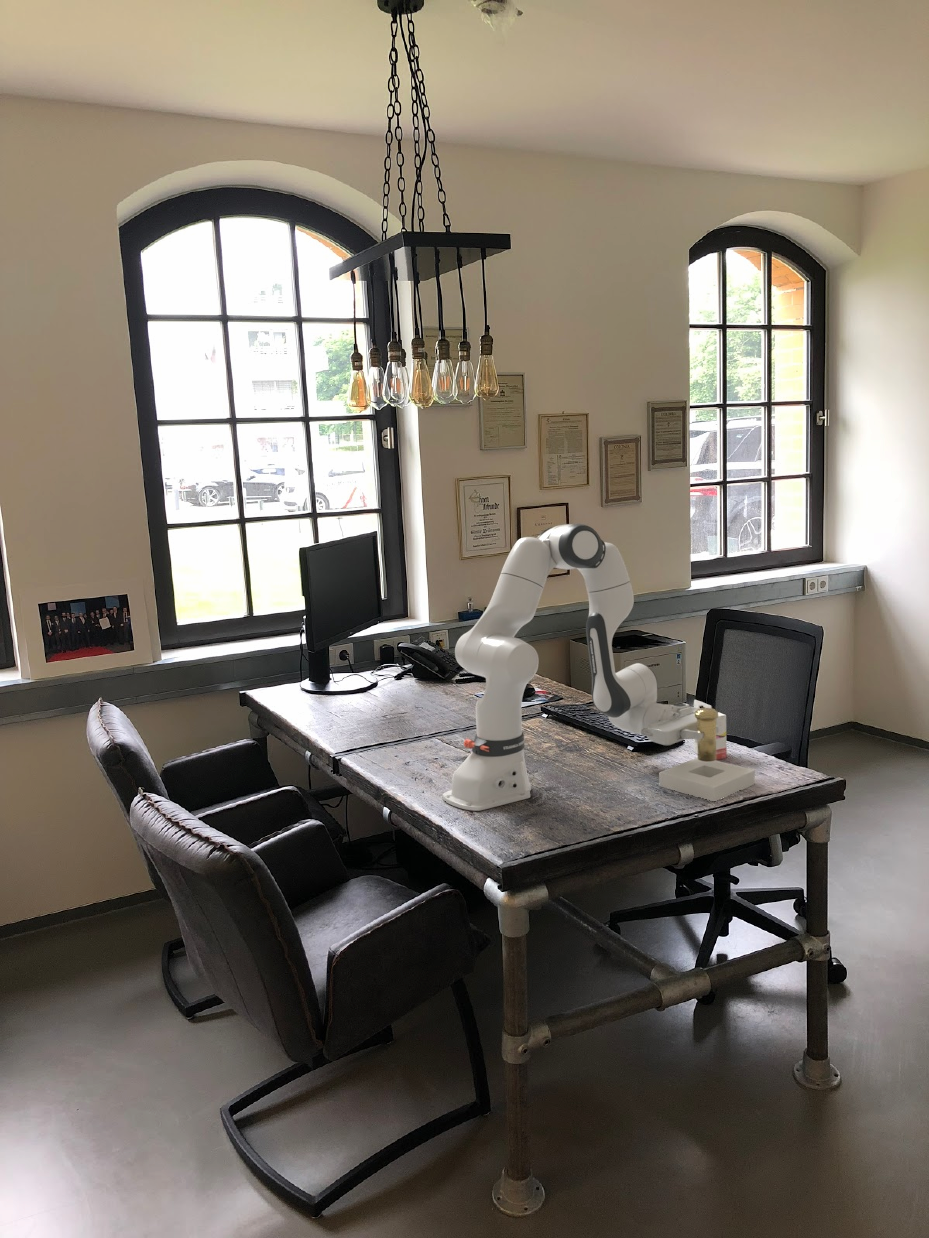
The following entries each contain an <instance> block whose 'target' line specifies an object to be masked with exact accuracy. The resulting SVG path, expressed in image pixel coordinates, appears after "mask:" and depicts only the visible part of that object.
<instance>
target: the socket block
mask: <svg viewBox="0 0 929 1238" xmlns="http://www.w3.org/2000/svg"><path fill="white" fill-rule="evenodd" d="M755 771H756V770H755V769H752V768H747V767H743V766H739V765H736V764H735V765H734V764H731V763H727V762H722V761H720V760H715V761H709V762H706V761H700V760H698V756H697V757H695V758H692V759H690V760H688V761H685V762H682V763H680V764H678V765H675V766H672V767H670V768H667V769H664V770H662V771H659V772H658V780H659V781H658V782H659V783H658V784H659V787H660V788H664V789H666V790H667V789H668V790H672V791H674V790H675V792H677V793H678V792H679V793H682V794H685V795H688V794H689V796H691V795H693V796H692V797H696V798H698V797H702V798H704V799H703V800H705V799H707V800H706V801H709V800H710V801H709V802H712V801H716V802H718V801H720V800H719V799H721V798H723V797H725V798H727V797H729V796H731V795H730V794H732V795H734V794H736V793H738V792H740V791H739V790H741V791H742V790H745V789H748V788H750V787H751V786H754V785H755V784H756V776H755V775H756V772H755ZM737 791H738V792H737ZM735 792H736V793H735ZM733 793H734V794H733ZM728 795H729V796H728ZM702 798H701V799H702ZM723 799H724V798H723ZM717 800H718V801H717ZM721 800H722V799H721Z"/></svg>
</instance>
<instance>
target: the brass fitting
mask: <svg viewBox="0 0 929 1238" xmlns="http://www.w3.org/2000/svg"><path fill="white" fill-rule="evenodd" d="M695 717H696V718H697V731H698V730H699V731H703V732H704V738H703V739H701V740H697V747H698V754H697V757H698V760H700V761H706V762H709V761H715V760H716V759H717V757H716V718H718V711H717V709H715V708H713V707H712V708H705V707H701V708H700V709H697V711H695ZM716 761H717V760H716Z"/></svg>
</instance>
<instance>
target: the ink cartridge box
mask: <svg viewBox="0 0 929 1238" xmlns="http://www.w3.org/2000/svg"><path fill="white" fill-rule="evenodd" d="M693 707H696V708H700V707H702V708H712V709H713V706H712V705H710V704H707V703H705V702H703V701H700V700H697V699H694V700H693ZM717 712H718V711H717ZM717 726H718V727H719V732H718V733H716V757H717V759H716V761H719V760H722V759H727V756H728V755H727V752H728V751H727V715H726V714H724V713H721V712H720V711H719V712H718V718H717ZM693 753H694V754H697V755H698V747H697V739H693Z"/></svg>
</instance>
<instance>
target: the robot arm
mask: <svg viewBox="0 0 929 1238" xmlns="http://www.w3.org/2000/svg"><path fill="white" fill-rule="evenodd" d="M558 569H559V570H560V569H561V570H575V569H576V570H578V572H579V573H580V574H581V575H582V578H583V580H584V585H585V588H586V589H585V590H586V592H587V597H588V604H589V605H588V608H589V609H588V616H587V620H586V624H585V633H586V634H585V635H586V641H587V643H586V644H587V651H588V658H589V666H590V671H591V672H590V673H591V699H592V702H593V704H594V707H595V708H596V709H597V710H598V711H599V712H600V713H601V714H602V715H604V716H607V718H608V721H610V723H611V724H612V725H613V726H614V727H616V728H618V729H619V730H622V731H624V732H628V733H631V734H634V735H641V736H644V737H647V739H648V740H649V741H651V742H653V743H656V744H659V745H663V746H671V745H674V744H675V743H679V742H682V741H684V740H694V739H697V740H701V739H703V738H704V732H703V731H699V730H698V731H697V718H696V717H695V711H697V709H700V708H696V707H694V706H690V704H688V703H684V702H683V703H674V704H666V703H665V704H663V703H660V702H659V703H658V695H659V694H658V690H659V689H658V688H659V687H658V685H659V684H658V683H659V682H658V679H657V676H656V673H655V672H654V671H653V669H652V668H650V667H649V666H647V665H646V664H643V663H641V662H640V663H639V662H635V663H633V664H631V665H629V666H626V667H624V668H623V669H621V670H619V671H617V672H616V668H615V660H614V654H613V646H612V645H613V638H614V635H615V633H616V631H617V629H618V628H620V627H619V626H620V625H621V624H622V623H623V621H625V620H626V619H627V617H629V614H630V613H631V611H632V609H633V607H634V602H635V598H634V590H633V587H632V583H631V579H630V575H629V572H628V569H627V566H626V563H625V561H624V558H623V555H622V554H621V552H620V550H619V548H618V546H616V545H615V544H613V543H611V542H606V541H604V540H602V538H601V536H600V535H599V533H598V532H597V531H596V530H595V529H594V528H592V527H591V526H589V525H588V524H587V525H586V524H583V523H573V524H571V523H566V524H565V523H564V524H559V525H556V526H552V527H548V528H547V529H545V530H543V531H542V532H541V533H540V534H538V536H537V537H533V536H525V537H521V538H519V539H518V540H517V541H516V542H515V544H514V545H513V546H512V548H511V550H510V552H509V553H508V555H507V558H506V559H505V562H504V564H503V567H502V568H501V572H500V575H499V578H498V580H497V583H496V586H495V588H494V591H493V594H492V596H491V599H490V601H489V603H488V605H487V607H486V609H485V610H484V611H483V613H482V615H481V616H480V617H479V619H478V620H477V622H476V623H475V625H474V626H473V627H472V628H471V629H469V630H468V631H467V632H465V633H463V634H462V635H460V637H459V638H458V640H457V642H456V644H455V648H454V656H455V660H456V662H457V663H458V665H460V667H462V668H463V669H464V670H466V671H467V672H468V673H470V674H472V675H476V676H479V677H482V678H485V688H484V689H485V690H484V692H483V695H482V697H480V698H479V699H478V700H477V701H476V704H475V724H476V725H475V726H476V734H475V736H474V740H471V739H468V738H466V739H464V741H463V746H464V747H465V748H468V749H471V752H470V754H469V755H468V756H467V757H466V758H465V760H464V761H463V762H462V763H461V764H460V765H459V767H458V768H457V769H456V770H454V772H453V775H452V778H451V789H450V790H447V791H446V792H444V793H442V797H443V798H442V800H443V801H444V802H445V801H446V802H445V803H447V804H449V805H452V806H453V807H456V808H459V809H463V810H467V811H475V812H476V811H477V812H479V811H484V810H488V809H492V808H496V807H499V806H503V805H508V804H511V803H515V802H519V801H522V800H527V799H529V798H531V790H532V785H531V783H530V779H529V776H528V773H527V766H526V761H525V753H524V749H525V747H526V745H525V742H526V741H525V733H524V732H523V726H522V725H523V723H522V721H523V719H522V704H523V697H524V692H525V689H526V686H527V684H528V683H529V682H530V681H531V680H532V679H533V678H534V677H535V675H537V674H536V673H537V672H538V669H539V663H540V661H539V654H538V652H537V650H536V648H534V647H533V646H532V645H531V644H529V643H528V642H526V641H524V640H522V639H521V638H518V637H515V636H516V635H517V634H518V632H519V630H521V628H523V626H525V625H526V624H528V623H530V622H531V621H532V620H533V618H534V616H535V614H536V612H537V608H538V606H539V603H540V600H541V598H542V594H543V591H544V589H545V585H546V582H547V579H548V578H547V577H549V574H550V573H551V572H552V570H558ZM718 732H719V727H718V726H717V718H716V733H718Z"/></svg>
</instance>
